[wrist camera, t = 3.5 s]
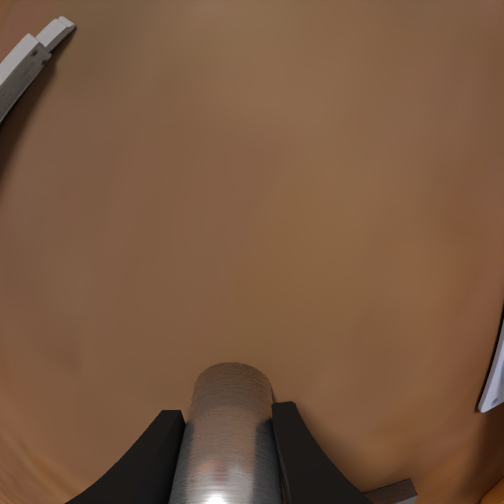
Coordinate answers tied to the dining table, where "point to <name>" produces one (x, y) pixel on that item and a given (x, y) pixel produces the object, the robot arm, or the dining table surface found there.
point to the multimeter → (494, 494)
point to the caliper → (28, 62)
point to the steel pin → (229, 441)
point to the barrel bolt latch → (394, 494)
